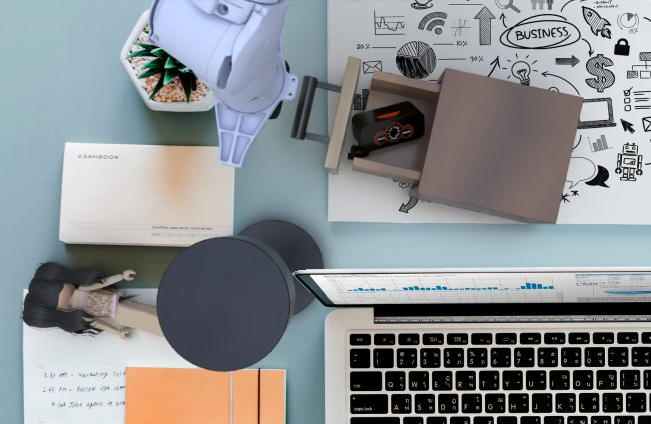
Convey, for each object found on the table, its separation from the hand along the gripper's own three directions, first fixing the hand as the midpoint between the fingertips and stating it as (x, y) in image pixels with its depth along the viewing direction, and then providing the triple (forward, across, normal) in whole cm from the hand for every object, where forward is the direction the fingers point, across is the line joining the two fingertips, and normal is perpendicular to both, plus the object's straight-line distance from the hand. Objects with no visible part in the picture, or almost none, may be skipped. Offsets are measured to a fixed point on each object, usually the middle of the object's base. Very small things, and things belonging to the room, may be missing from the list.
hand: (263, 99), depth 61 cm
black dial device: (+2, 0, -11) cm, 11 cm away
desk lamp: (+5, -16, -4) cm, 17 cm away
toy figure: (+5, -23, +12) cm, 26 cm away
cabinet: (+5, 0, -22) cm, 23 cm away
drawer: (+4, 0, -11) cm, 12 cm away
